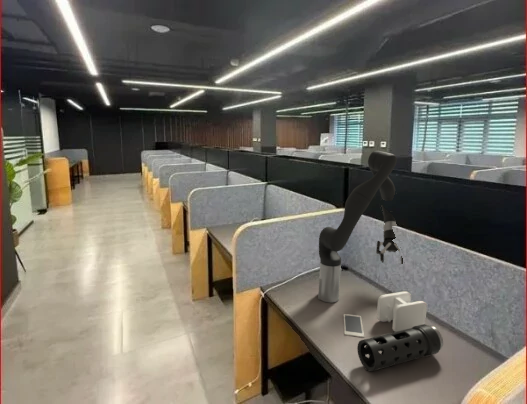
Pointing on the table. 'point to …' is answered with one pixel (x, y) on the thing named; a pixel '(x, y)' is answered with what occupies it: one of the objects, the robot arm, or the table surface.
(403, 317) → the white toothbrush holder
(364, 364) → the muzzle brake
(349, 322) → the phone
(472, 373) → the table surface
